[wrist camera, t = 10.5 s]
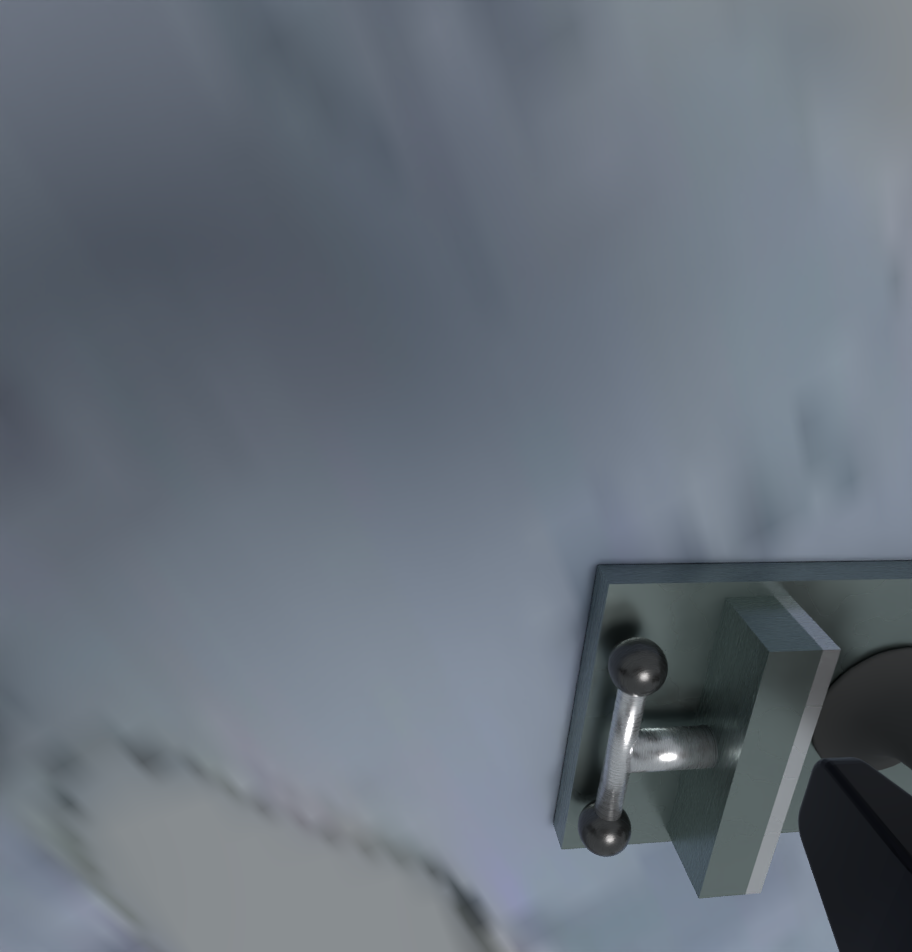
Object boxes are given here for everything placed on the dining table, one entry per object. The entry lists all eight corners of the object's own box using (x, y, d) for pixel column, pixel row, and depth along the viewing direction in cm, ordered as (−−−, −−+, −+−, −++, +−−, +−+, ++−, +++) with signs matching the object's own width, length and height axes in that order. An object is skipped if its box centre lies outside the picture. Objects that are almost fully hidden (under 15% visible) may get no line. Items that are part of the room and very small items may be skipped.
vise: (553, 824, 27) (594, 952, 23) (597, 565, 23) (657, 665, 19) (987, 794, 30) (1092, 903, 26) (1096, 558, 26) (1241, 644, 22)
